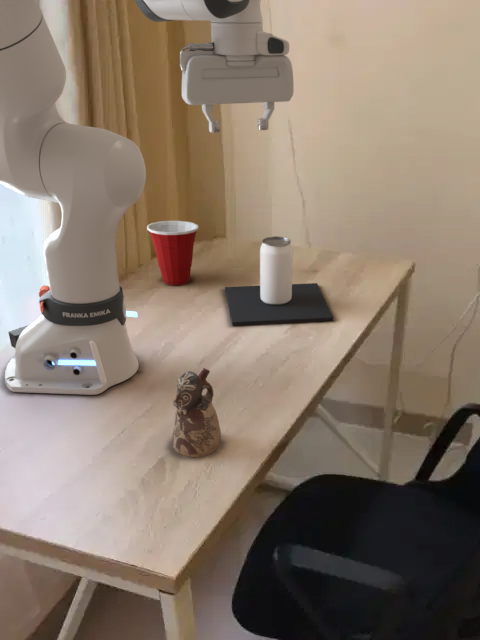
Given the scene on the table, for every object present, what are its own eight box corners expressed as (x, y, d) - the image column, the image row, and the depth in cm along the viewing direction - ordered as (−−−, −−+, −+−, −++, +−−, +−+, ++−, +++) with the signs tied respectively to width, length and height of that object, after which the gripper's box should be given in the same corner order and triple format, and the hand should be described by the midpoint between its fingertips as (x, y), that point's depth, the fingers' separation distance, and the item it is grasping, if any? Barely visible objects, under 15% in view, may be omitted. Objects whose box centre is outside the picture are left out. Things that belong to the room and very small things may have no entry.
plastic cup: (205, 272, 167) (202, 217, 160) (196, 290, 159) (193, 233, 152) (158, 270, 168) (153, 215, 161) (146, 288, 160) (140, 231, 152)
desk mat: (232, 326, 145) (232, 322, 145) (224, 290, 159) (224, 286, 159) (333, 321, 148) (333, 317, 147) (317, 286, 162) (317, 282, 161)
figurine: (166, 438, 113) (159, 366, 106) (209, 426, 116) (205, 356, 108) (184, 462, 108) (178, 388, 101) (228, 449, 111) (226, 377, 103)
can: (296, 303, 152) (298, 244, 145) (266, 307, 150) (266, 248, 143) (284, 291, 157) (285, 234, 150) (255, 295, 155) (255, 237, 148)
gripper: (184, 44, 123) (189, 136, 131) (297, 42, 130) (296, 130, 137) (173, 42, 128) (179, 131, 136) (284, 41, 134) (283, 126, 142)
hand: (239, 131), depth 137 cm, fingers open, 8 cm apart
